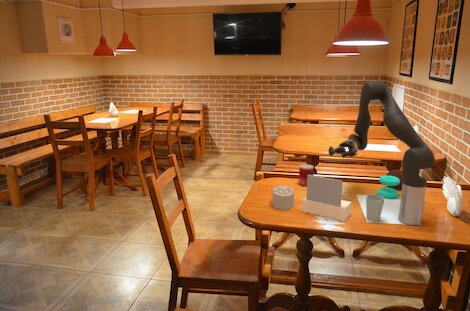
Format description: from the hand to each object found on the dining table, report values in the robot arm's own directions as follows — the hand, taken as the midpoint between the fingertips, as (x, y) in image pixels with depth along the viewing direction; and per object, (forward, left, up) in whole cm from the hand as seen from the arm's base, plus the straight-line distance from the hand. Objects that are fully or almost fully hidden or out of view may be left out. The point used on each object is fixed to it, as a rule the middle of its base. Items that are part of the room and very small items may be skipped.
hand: (336, 154), depth 173 cm
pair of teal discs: (-19, -31, -26) cm, 45 cm away
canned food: (+24, -23, -26) cm, 42 cm away
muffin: (-20, -47, -26) cm, 57 cm away
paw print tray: (+21, +12, -26) cm, 36 cm away
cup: (-20, +4, -26) cm, 33 cm away
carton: (0, +10, -26) cm, 28 cm away
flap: (0, +15, -19) cm, 25 cm away
